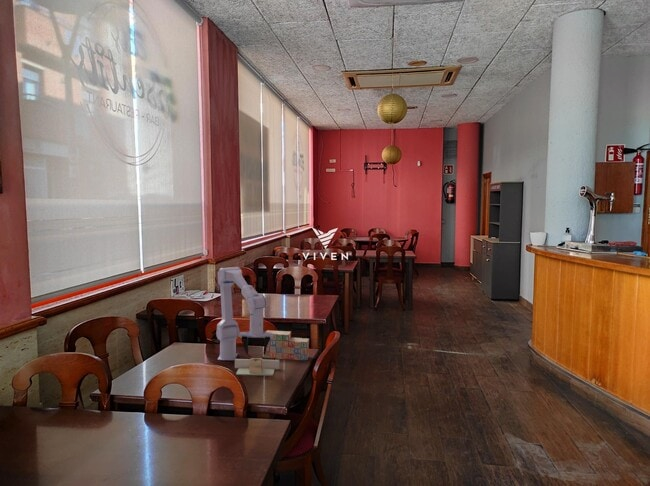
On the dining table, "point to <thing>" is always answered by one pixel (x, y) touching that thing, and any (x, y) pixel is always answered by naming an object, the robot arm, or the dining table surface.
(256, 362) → the letter cube
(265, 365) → the screen
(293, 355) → the stack of blocks
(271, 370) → the mat
